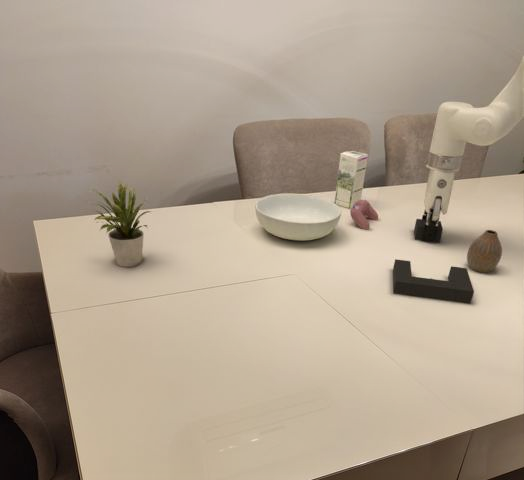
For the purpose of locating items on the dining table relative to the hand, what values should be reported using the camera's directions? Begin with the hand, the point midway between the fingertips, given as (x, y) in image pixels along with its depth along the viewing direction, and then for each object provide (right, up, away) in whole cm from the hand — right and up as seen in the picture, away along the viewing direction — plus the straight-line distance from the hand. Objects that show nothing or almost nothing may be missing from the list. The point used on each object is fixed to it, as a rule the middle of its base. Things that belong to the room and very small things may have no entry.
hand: (426, 234), depth 126 cm
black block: (0, 0, 0) cm, 1 cm away
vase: (+7, -11, -14) cm, 19 cm away
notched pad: (-7, -16, -23) cm, 29 cm away
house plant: (-71, -10, -19) cm, 74 cm away
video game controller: (-15, +4, +7) cm, 17 cm away
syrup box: (-17, +13, +19) cm, 29 cm away
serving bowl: (-33, 0, -1) cm, 33 cm away
